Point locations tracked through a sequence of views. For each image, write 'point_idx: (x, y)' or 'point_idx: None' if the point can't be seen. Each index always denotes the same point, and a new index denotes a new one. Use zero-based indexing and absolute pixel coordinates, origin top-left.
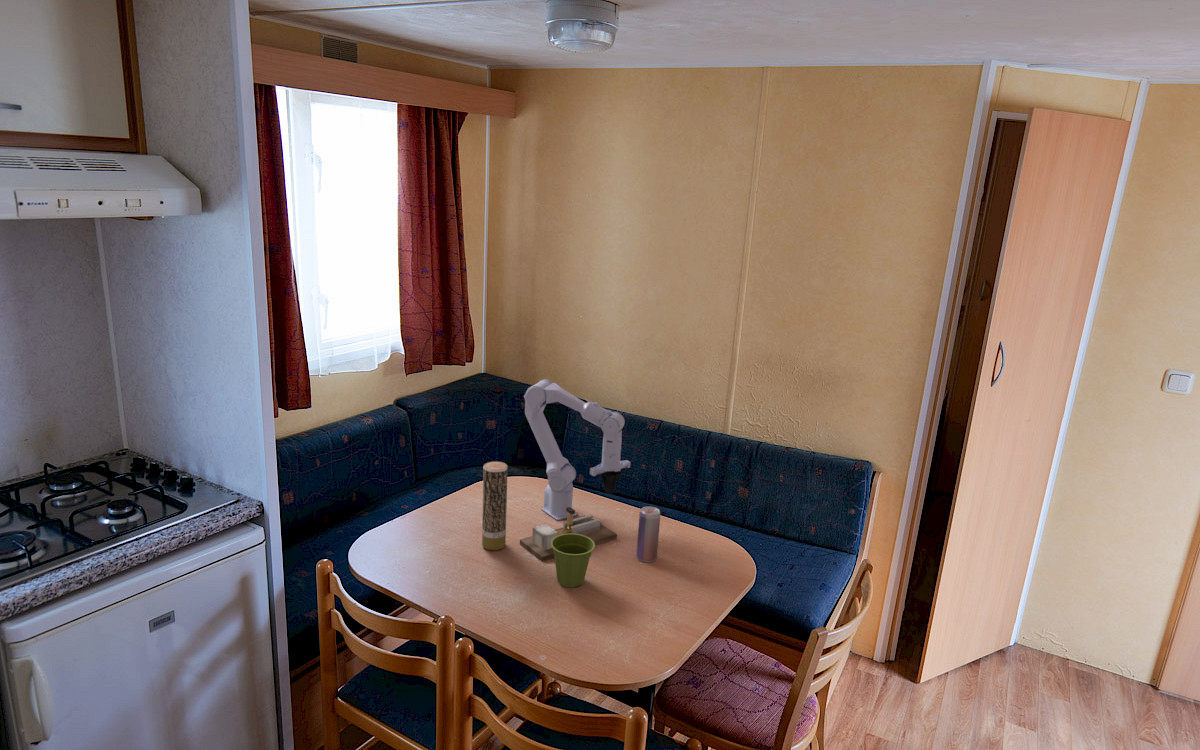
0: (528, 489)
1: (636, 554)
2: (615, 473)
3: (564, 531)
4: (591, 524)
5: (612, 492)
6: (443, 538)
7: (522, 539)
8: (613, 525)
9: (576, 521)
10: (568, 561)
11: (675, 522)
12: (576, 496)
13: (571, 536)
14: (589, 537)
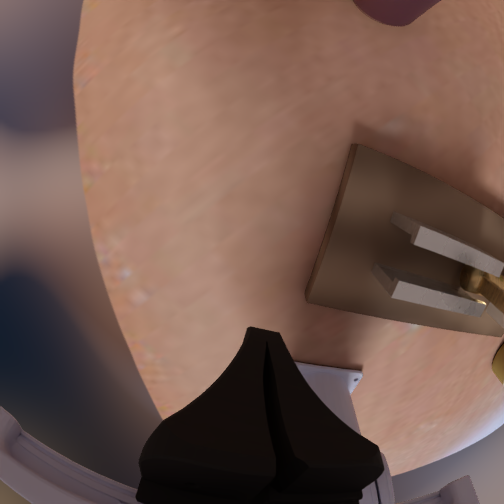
0: None
1: (409, 23)
2: (256, 485)
3: (498, 279)
4: (450, 237)
5: (250, 329)
6: (492, 403)
7: (500, 334)
8: (262, 224)
9: (458, 295)
10: None
11: (74, 85)
12: None
13: None
14: (442, 215)
